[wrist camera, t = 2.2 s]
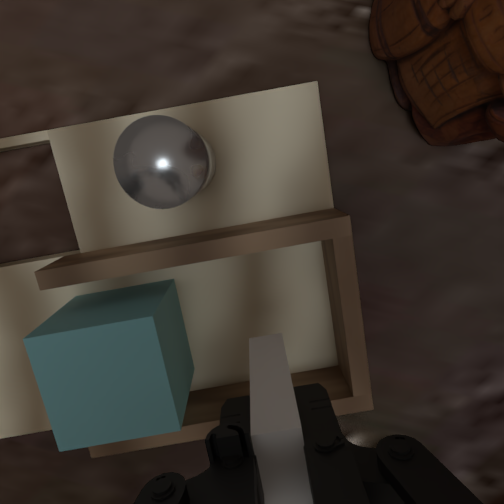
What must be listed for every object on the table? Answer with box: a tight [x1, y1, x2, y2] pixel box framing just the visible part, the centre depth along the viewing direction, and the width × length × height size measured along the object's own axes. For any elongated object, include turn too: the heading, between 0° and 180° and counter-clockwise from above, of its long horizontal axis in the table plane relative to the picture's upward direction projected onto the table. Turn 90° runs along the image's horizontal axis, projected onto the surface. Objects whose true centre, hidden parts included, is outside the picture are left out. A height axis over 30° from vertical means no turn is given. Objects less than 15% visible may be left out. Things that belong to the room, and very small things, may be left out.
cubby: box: [34, 208, 374, 458], centre depth 23 cm, size 16×11×4 cm
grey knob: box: [113, 115, 216, 209], centre depth 19 cm, size 4×4×7 cm
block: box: [23, 279, 195, 452], centre depth 22 cm, size 6×6×6 cm
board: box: [0, 81, 338, 439], centre depth 25 cm, size 28×18×2 cm, turn 100°
